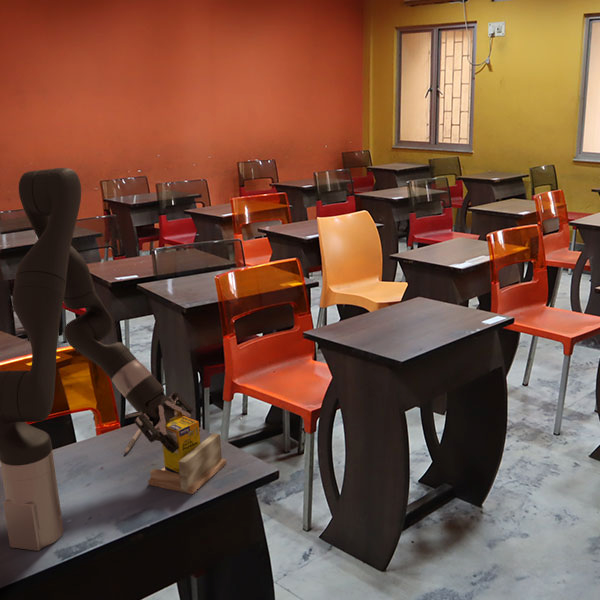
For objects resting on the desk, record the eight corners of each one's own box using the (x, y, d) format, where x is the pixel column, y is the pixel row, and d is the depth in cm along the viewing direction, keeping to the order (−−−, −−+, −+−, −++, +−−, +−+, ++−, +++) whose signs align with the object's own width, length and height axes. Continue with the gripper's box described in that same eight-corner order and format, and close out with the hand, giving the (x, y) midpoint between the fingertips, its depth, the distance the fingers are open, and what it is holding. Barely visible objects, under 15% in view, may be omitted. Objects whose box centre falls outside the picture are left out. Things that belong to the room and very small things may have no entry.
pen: (144, 429, 188) (144, 424, 188) (127, 456, 175) (127, 451, 174) (140, 429, 188) (140, 424, 188) (123, 456, 175) (122, 450, 175)
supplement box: (203, 466, 166) (199, 421, 163) (182, 477, 162) (177, 430, 159) (185, 458, 170) (181, 414, 167) (164, 469, 166) (159, 423, 163)
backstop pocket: (192, 494, 157) (189, 463, 155) (148, 484, 162) (145, 454, 160) (226, 463, 169) (224, 434, 167) (184, 455, 174) (182, 427, 172)
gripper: (126, 387, 157) (177, 447, 155) (165, 364, 169) (213, 419, 168) (108, 407, 160) (158, 466, 159) (148, 383, 173) (195, 437, 171)
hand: (186, 441), depth 163 cm, fingers open, 8 cm apart
